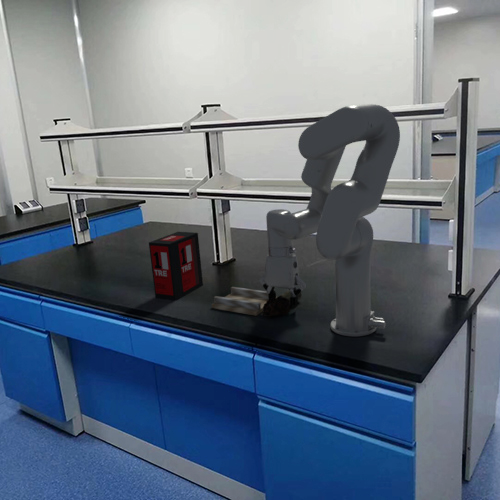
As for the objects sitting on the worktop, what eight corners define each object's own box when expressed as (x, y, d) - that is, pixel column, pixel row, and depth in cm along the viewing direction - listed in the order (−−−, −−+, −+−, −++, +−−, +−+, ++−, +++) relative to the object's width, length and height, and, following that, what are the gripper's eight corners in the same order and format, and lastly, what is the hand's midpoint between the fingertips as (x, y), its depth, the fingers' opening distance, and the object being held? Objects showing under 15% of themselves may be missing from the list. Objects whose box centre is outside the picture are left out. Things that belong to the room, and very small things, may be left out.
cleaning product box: (183, 283, 191) (177, 231, 186) (203, 285, 187) (197, 232, 182) (155, 297, 178) (148, 242, 173) (175, 300, 173) (169, 244, 168)
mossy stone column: (288, 299, 167) (288, 283, 165) (307, 302, 163) (306, 286, 162) (259, 318, 153) (258, 300, 151) (278, 322, 149) (278, 304, 147)
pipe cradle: (278, 300, 166) (278, 291, 165) (256, 315, 155) (255, 305, 154) (235, 294, 175) (235, 285, 174) (211, 308, 164) (211, 298, 163)
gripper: (312, 250, 151) (313, 306, 156) (262, 245, 160) (265, 298, 165) (300, 256, 145) (303, 314, 150) (249, 251, 154) (253, 306, 159)
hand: (283, 305), depth 157 cm, fingers closed on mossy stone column, 6 cm apart
